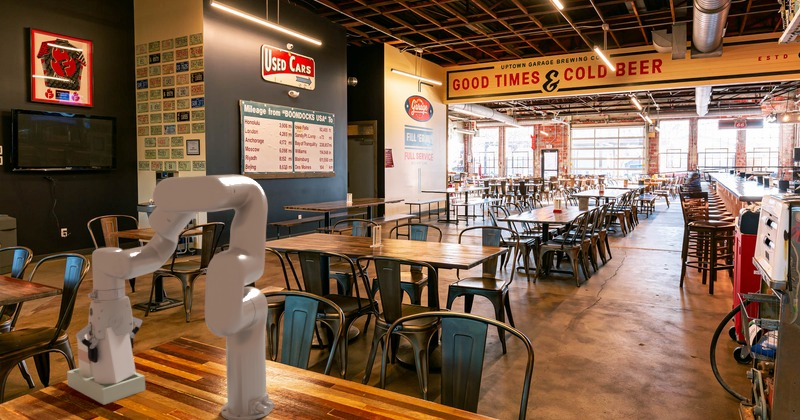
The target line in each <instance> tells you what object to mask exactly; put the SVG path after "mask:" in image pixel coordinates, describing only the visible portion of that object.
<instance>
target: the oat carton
mask: <svg viewBox="0 0 800 420" xmlns="http://www.w3.org/2000/svg"><path fill="white" fill-rule="evenodd" d="M85 338H86V340H87V334H86V335H85ZM76 341H77V343H76V344H77V359H78V368H79V375H81V376H83V377H85V378H87V379H88V378H91V377H94V375H93V369H92V363H91V361H90V360H89V359H88V347H87V346H85V345H84V344H82V343H81V342H80V341H79V340H78V338H77V337H76Z"/></svg>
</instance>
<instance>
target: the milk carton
mask: <svg viewBox="0 0 800 420" xmlns="http://www.w3.org/2000/svg"><path fill="white" fill-rule="evenodd" d="M105 328H106V329H105V339H103V340H99V341H98V343H97V344H96V346H95V347H96V348H97V351H98V362H97V363H94V362H92V361H91V363H92V369H93V375H94V381H95V383H97V384H114V383H118V382H120V381H122V380H124V379H126V378H128V377H130V376H132V375H134V374H136V372H137V371H136V365H135V359H134V354H133V352H132V350H133V348H132V347H131V341H130V335H129V333H127V334H123V335H118V336H116V335H115V333H114V332H113V330H112V327H105ZM92 334H93V333H92V330H91V331H90V335H92ZM89 338H90V336H89V333H87V340H88V339H89Z"/></svg>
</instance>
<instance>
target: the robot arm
mask: <svg viewBox="0 0 800 420" xmlns="http://www.w3.org/2000/svg"><path fill="white" fill-rule="evenodd" d="M152 199H153V204H154V205H155V206H156V207H155V208H154V210H153V211H152V212H151V213H150V214H149V216H148V221H147V222H148V225H149V227H150V228H151V230H152V231H153V232H155V233H154V235H153V236H152V237H151V238H150V239H149V241H148V242H147V243H146V244H145V245H143V246H138V247H134V248H130V249H124V250H123V248H120V247H116V246H115V247H114V246H113V247H111V246H110V247H107V246H106V247H100V248H97V249H95V250H94V251H92V255H91V263H92V265H91V266H92V267H91V269H92V291H91V292H90V293H89V292H88V294H87V297H88V299H92V300H91V301H90V303H89V304H90V305H89V309H88V310H89V311H88V319H87V320H88V323H87V325H86V326H84V327H83V328H82V329H81V330H79V331H78V332H77V333H76V334H75V337H76V339H77V338H78V340H79V341H80V342H81V343H82V344H84V345H85V346H87V347H88V359H89V360H90V361H92V362H94V363H97V362H98V351H97V348H96V347H95V346H96V344H97V343H98V341H99V340H103V339H105V329H106V328H105V327H112V330H113V332H114V333H115V335H116V336H118V335H123V334H127V333H129V335H130V341H131V347H132V353H133V349H134V339H135V337H136V334H137V333H138V332H139V330H140V327H141V326H142V323H143V322H144V321H143V319H141V318H138V317H135V316H133V310H132V306H131V301H130V297H129V296H128V295H126V281H125V280H132V279H133V278H138V277H140V276H144V275H149V274H150V273H154V272H156V271H158V270H159V269H160V268H162V266H163V265H164V264H165V263H166V262H167V261H168V260H169V259H170V257H172V255H173V253H175V250H176V249H177V246H178V243H179V235H181V232H182V231H183V230H184V229H185V228H186V226H187V225H188V224H189V223H190V222H191V221H192V219H193V218H194V217H195V216H196V214H198V213H214V212H215V213H216V212H220V211H227V210H228V211H229V210H232V209H233V210H234V212H235V214H234V217H232V218H233V219H232V221H231V223H230V224H231V225H230V230H229V231H230V232H229V233H230V235H229V236H230V237H229V247H228V249H226V250H223V251H220V252H219V253H216V254H214V256H213V257H212V258H211V260H210V261H209V264H208V265H207V268H206V269H207V270H206V274H205V291H204V292H205V293H204V320H205V323H206V326H207V328H208V330H209V331H210V332H211V333H212V334H213V335H215V336H217V337H219V338H226V340H225V359H226V360H225V362H226V365H225V366H226V391H227V394H226V395H227V399H226V400H227V402H226V403H224V404H223V405H222V407H221V411H220V413H221V416H222V418H223V419H225V420H258V419H261V418H263V417H265V416H268V415H270V413H271V412H272V410H273V409H274V408H275V404H274V402H273V400H272V399H270V398H269V397H270V396H269V395H270V394H269V393H267V373H266V372H267V371H266V370H267V369H266V368H267V365H266V364H267V363H266V359H267V358H266V330H267V329H266V326H267V318H268V313H269V312H268V311H269V309H268V308H269V306H268V299H267V298H266V296H265V294H264V293H263V292H262V290H260V289H259V288H257V287H254V286H247V285H250V284H252V283H254V282H256V281H258V280H259V279H261V277H262V276H263V275H264V271H265V262H266V261H265V260H266V244H267V243H266V242H267V221H268V212H269V209H268V206H269V205H268V199H267V196H266V193H265V191H264V189H263V188H262V186H261V185H260V184H259V183H258V182H257V181H256V180H254V179H253V178H251V177H249V176H246V175H242V174H233V173H232V174H215V175H213V174H211V175H201V176H199V175H197V176H172V177H167V178H163V179H162V180H160V181H159V182H158V183H156V185H155V187H154V190H153V193H152ZM91 330H92V333H93V334H92V335H90V331H91ZM87 333H89V336H90V338H89V339H88V340H86V338H85V335H86V334H87Z"/></svg>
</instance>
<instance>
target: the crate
mask: <svg viewBox="0 0 800 420" xmlns="http://www.w3.org/2000/svg"><path fill="white" fill-rule="evenodd" d="M66 372H67V373H66V374H67V375H66V376H67V379H66V380H67V386H68V387H69V388H72V389H73V390H76V391H77V392H79V393H81V394H83V395H84V396H87V397H89V398H90V399H92V400H94V401H96V402H98V403H99V404H102V405H103V406H104V405H107V404H111V403H114V402H116V401H119V400H122V399H125V398H128V397H131V396H134V395H136V394H139V393H141V392H142V393H143V392H145V391H146V376H145V375H143V374H141V373H139V372H137V371H136V374H134V375H132V376H130V377H128V378H126V379H124V380H122V381H120V382H118V383H114V384H97V383H95V381H94V377H91V378H88V379H87V378H85V377H83V376H81V375H79V367H78V368H73V369H71V370H67V371H66Z"/></svg>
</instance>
